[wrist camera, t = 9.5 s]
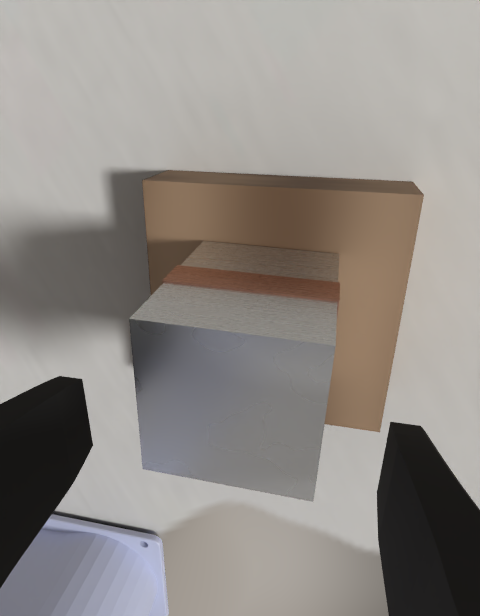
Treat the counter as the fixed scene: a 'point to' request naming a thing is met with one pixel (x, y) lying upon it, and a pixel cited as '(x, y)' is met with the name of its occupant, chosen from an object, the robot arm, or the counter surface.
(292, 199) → the walnut block
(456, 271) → the counter surface
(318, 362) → the steel tea tin
